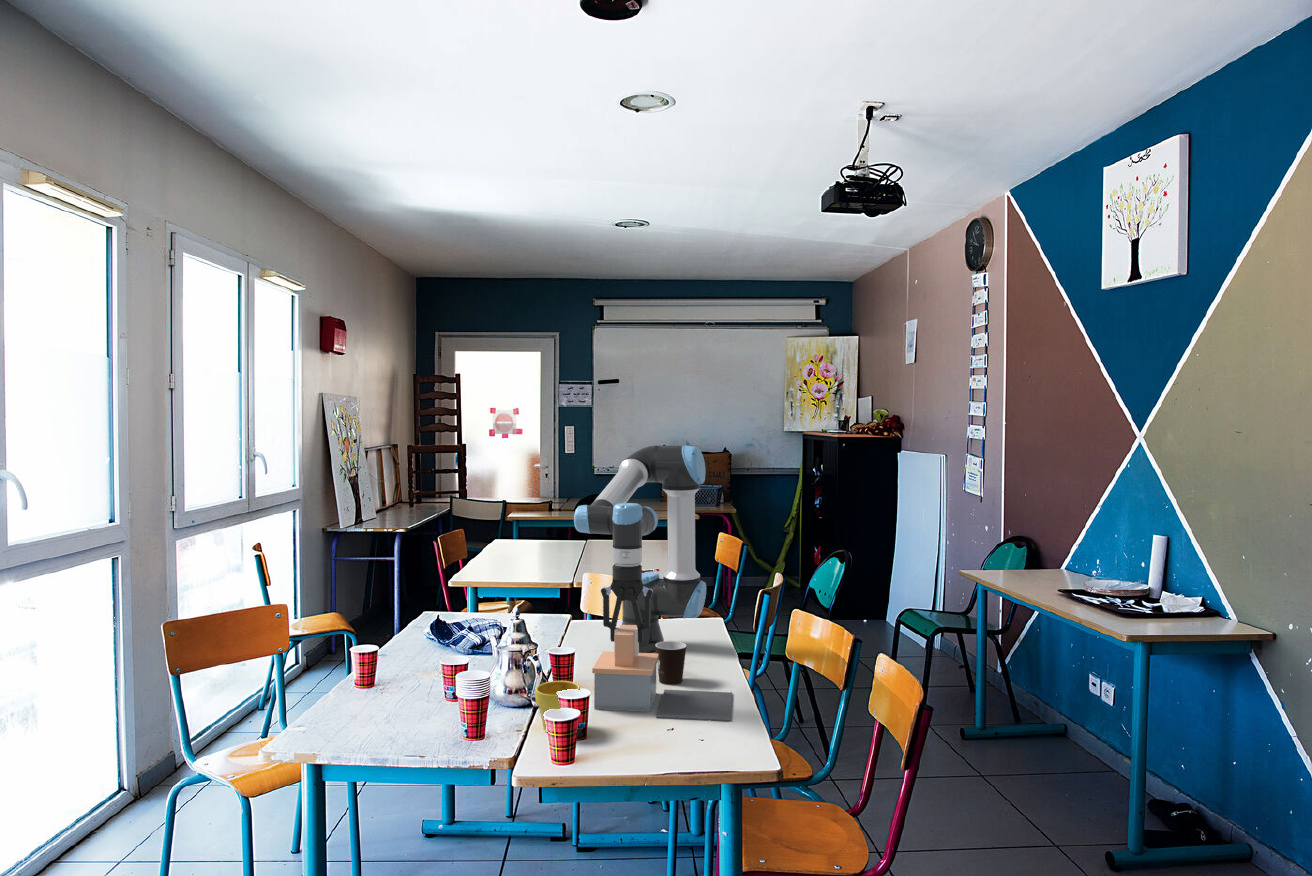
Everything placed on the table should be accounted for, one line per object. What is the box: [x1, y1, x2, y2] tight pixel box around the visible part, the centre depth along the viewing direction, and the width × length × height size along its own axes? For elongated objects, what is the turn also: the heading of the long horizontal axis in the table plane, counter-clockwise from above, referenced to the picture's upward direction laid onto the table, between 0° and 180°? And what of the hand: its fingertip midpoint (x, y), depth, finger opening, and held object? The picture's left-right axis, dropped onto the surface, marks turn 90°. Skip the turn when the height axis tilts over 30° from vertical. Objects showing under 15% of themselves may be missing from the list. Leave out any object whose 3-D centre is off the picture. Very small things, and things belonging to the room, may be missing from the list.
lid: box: [591, 624, 659, 676], centre depth 206 cm, size 15×15×11 cm
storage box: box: [593, 666, 657, 713], centre depth 206 cm, size 14×14×9 cm
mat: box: [655, 689, 733, 722], centre depth 204 cm, size 20×18×1 cm
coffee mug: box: [655, 640, 687, 686], centre depth 224 cm, size 12×9×10 cm
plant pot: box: [535, 680, 581, 730], centre depth 187 cm, size 10×10×10 cm
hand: (626, 654), depth 206 cm, fingers closed on lid, 4 cm apart
